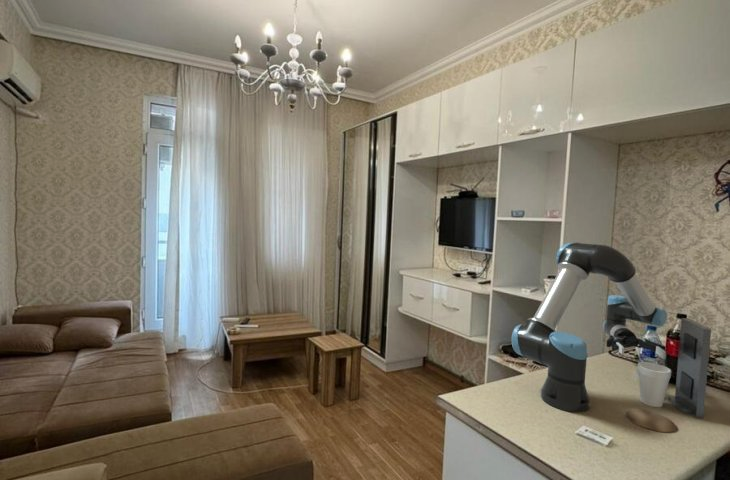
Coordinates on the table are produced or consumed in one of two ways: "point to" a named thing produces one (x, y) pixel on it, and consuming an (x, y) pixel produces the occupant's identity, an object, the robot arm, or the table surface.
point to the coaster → (650, 420)
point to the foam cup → (653, 383)
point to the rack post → (692, 368)
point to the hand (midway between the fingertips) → (643, 353)
